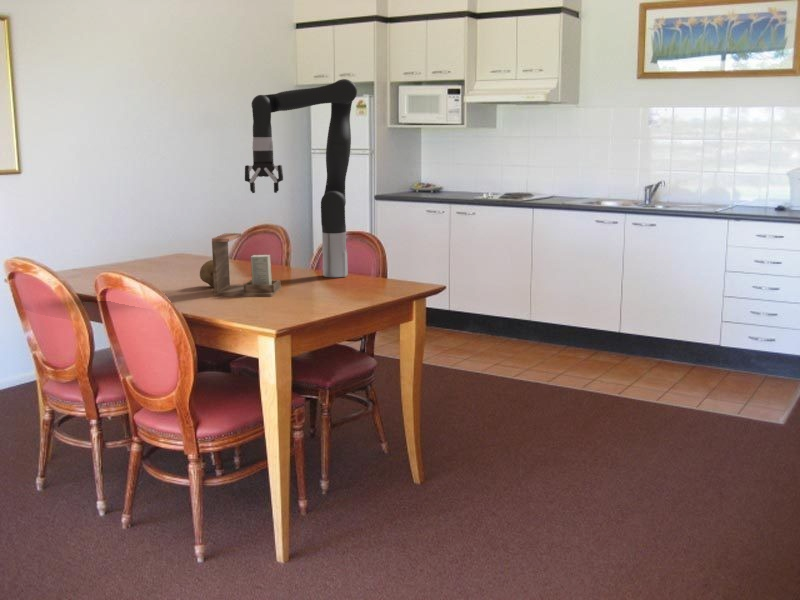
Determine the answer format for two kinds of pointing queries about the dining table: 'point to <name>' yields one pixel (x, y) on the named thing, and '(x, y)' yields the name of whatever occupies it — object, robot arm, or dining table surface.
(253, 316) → the dining table surface
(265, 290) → the wooden display stand
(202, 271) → the natural sponge
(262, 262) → the skincare box
